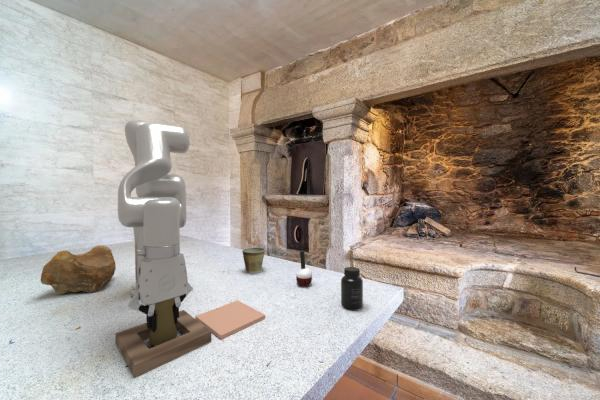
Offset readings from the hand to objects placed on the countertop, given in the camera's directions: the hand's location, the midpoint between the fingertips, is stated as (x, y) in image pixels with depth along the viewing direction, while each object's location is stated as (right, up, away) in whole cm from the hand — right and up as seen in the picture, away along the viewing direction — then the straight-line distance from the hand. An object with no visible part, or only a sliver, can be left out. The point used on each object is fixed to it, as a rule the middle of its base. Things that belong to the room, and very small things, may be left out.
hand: (163, 324), depth 60 cm
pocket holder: (0, -4, 0) cm, 4 cm away
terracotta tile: (+13, -4, +11) cm, 18 cm away
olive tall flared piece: (0, -4, 0) cm, 4 cm away
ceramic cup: (+12, -2, +54) cm, 55 cm away
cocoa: (+35, -3, +37) cm, 51 cm away
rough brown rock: (-46, -3, +33) cm, 56 cm away
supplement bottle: (+50, -4, +19) cm, 54 cm away
